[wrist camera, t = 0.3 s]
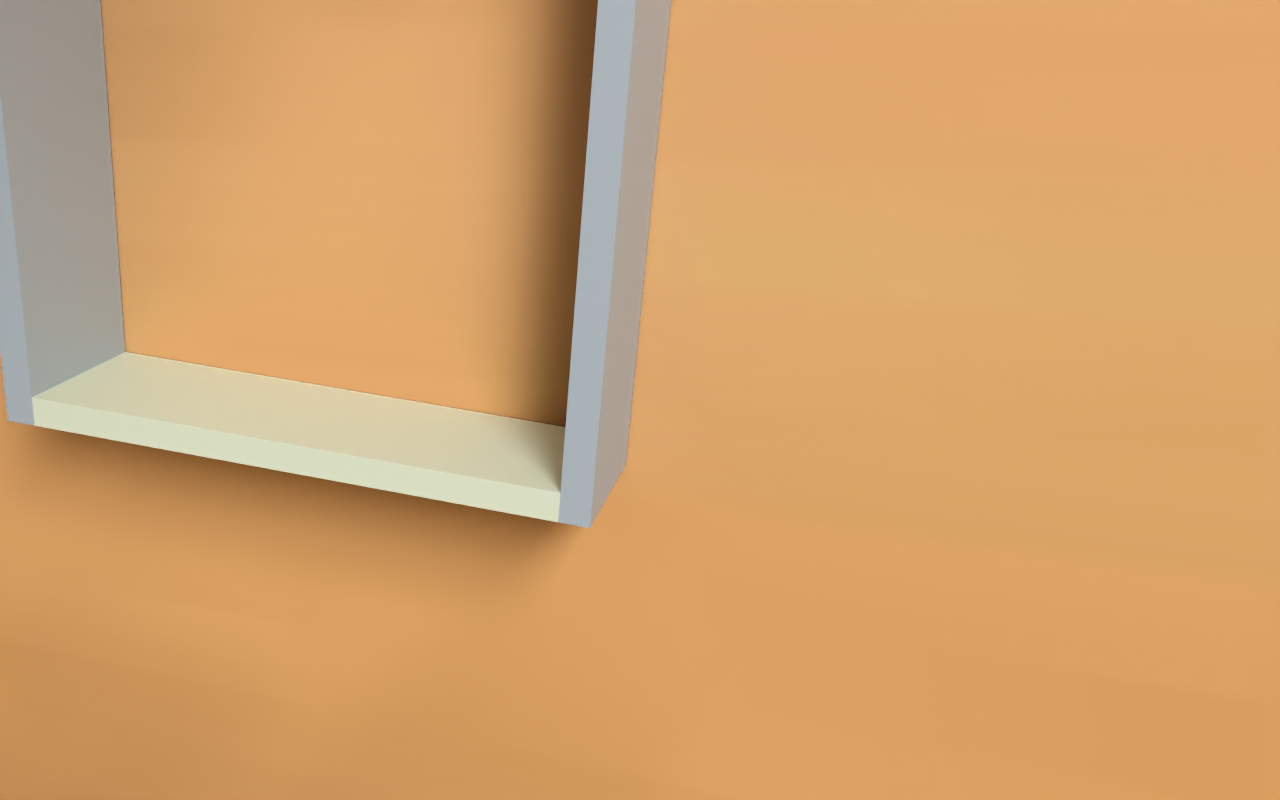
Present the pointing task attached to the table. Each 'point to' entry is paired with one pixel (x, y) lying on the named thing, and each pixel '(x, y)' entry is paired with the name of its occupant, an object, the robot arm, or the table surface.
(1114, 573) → the table surface
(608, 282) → the walled box
